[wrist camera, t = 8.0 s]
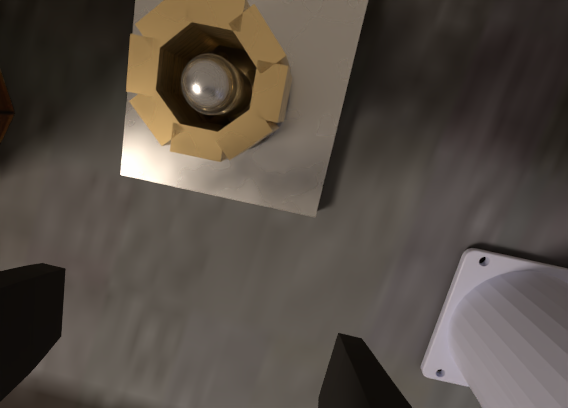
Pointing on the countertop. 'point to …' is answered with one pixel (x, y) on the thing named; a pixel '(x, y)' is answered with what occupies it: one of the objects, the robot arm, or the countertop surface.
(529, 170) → the countertop surface
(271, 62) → the brass ring
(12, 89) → the countertop surface
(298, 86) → the piston stand
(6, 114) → the mug
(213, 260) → the countertop surface
